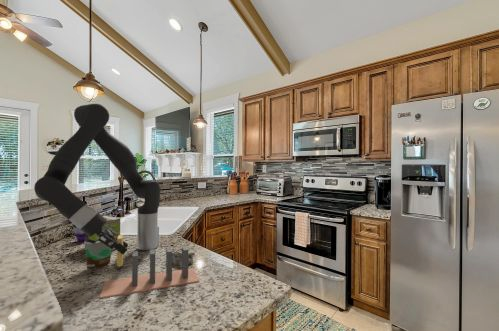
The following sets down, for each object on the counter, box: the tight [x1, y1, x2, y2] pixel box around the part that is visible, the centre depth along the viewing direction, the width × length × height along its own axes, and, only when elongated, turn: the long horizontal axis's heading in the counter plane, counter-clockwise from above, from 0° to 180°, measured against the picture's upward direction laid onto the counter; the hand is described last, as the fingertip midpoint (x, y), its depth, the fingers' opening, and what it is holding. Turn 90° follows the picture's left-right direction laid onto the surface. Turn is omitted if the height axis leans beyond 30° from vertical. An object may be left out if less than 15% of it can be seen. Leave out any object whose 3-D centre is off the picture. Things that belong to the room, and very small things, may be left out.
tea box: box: [84, 215, 121, 251], centre depth 124 cm, size 15×10×15 cm, turn 58°
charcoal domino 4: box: [181, 245, 189, 279], centre depth 92 cm, size 2×5×10 cm, turn 23°
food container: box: [83, 241, 113, 270], centre depth 103 cm, size 12×6×10 cm, turn 168°
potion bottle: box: [73, 227, 85, 243], centre depth 135 cm, size 9×9×12 cm
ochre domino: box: [116, 234, 124, 267], centre depth 94 cm, size 2×5×10 cm, turn 22°
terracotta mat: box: [99, 267, 200, 299], centre depth 87 cm, size 30×12×1 cm, turn 113°
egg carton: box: [172, 251, 196, 268], centre depth 106 cm, size 11×8×4 cm
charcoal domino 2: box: [149, 248, 156, 284], centre depth 87 cm, size 2×5×10 cm, turn 22°
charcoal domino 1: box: [131, 250, 139, 287], centre depth 85 cm, size 2×5×10 cm, turn 23°
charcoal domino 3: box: [165, 247, 173, 281], centre depth 90 cm, size 2×5×10 cm, turn 23°
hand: (125, 249), depth 94 cm, fingers closed on ochre domino, 5 cm apart
